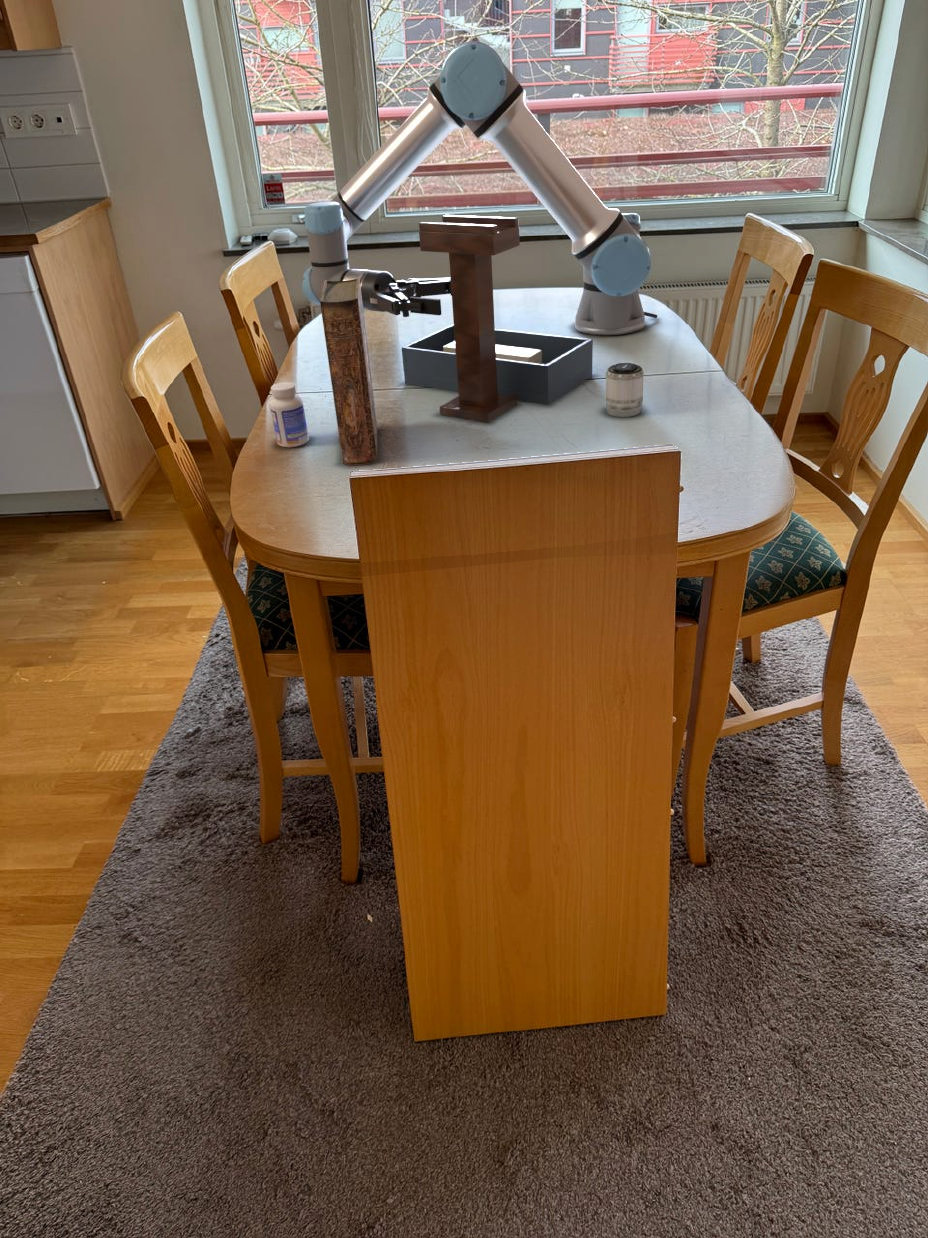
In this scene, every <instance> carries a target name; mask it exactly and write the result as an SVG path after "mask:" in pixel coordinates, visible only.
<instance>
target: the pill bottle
mask: <svg viewBox="0 0 928 1238" xmlns="http://www.w3.org/2000/svg"><path fill="white" fill-rule="evenodd" d="M270 392H271V393H270V394H271V396H272V397H273V398H272V399H271V400H270V402H269V409H270V413H271V418H272V424H273V429H274V435H275V440H276V443H277V445H278V446H280V447H283V448H295V447H300V446H303V445H305V444H307V443H308V441H310V436H309V431H308V430H309V429H308V423H307V420H306V414H305V408H304V407H305V406H304V402H303V399H302V397H301V396H300V395H298V394H297V388H296V384H295V382H291V381H289V382H288V381H284V382H278V383H275V384H273V385H272V386H270Z"/></svg>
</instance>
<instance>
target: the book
mask: <svg viewBox="0 0 928 1238" xmlns="http://www.w3.org/2000/svg"><path fill="white" fill-rule="evenodd" d="M320 312H321V320H322V326H323V332H324V333H323V334H324V341H325V346H326V347H325V348H326V354H327V360H328V369H329V374H330V383H331V389H332V395H333V403H334V411H335V417H336V424H337V425H336V426H337V432H338V439H339V446H340V453H341V461H342V464H343V465H345V466H364V465H370V464H373V463H376V462H377V461H378V424H377V423H378V422H377V414H376V407H375V405H376V404H375V396H374V390H373V380H372V371H371V362H370V356H369V345H368V337H367V328H366V321H365V310H364V311H363V302H362V294H361V286H360V278H359V277H357V279H354V280H348V281H327V280H324V285H323V290H322V294H321V299H320Z"/></svg>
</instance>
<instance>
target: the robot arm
mask: <svg viewBox="0 0 928 1238" xmlns="http://www.w3.org/2000/svg"><path fill="white" fill-rule="evenodd" d="M426 96H427V97H425V99H424V100H423V101H422V102H421V103H420V104H419V105H418V107H417V108H415V109H414V110H413V112H412V113H411V114H410V115H409V116H408V117H407V118H406V119H405V120H404V122H403V123H401V125H400V126H399V127H398V128H397V129H396V130H395V131H394V132H393V133H392V134H391V136H390V137H388V139H387V140H386V141H385V142H384V143H383V144H382V145H381V146H380V147H379V149H378V150H377V151H376V152H375V153H374V154H373V155H372V156H371V157H370V158H369V159H368V160H367V162H365V164H364V165H363V166H362V167H360V168H359V170H358V171H357V172H356V173H355V174H354V175H353V176H352V177H351V178H350V180H349V181H348V182H347V183H346V184H344V186H343V187H342V188H340V189H341V190H339V192H338V193H336V194H335V196H334V197H333V198H332V199H331V200H329V201H318V202H313V203H309V204H307V205H306V206H305V207H304V211H303V212H304V227H305V230H306V236H307V243H308V244H307V245H308V250H309V256H310V264H311V265H310V267H308V268H307V269H306V270H305V271H304V273H303V276H302V279H303V281H302V283H301V287H302V292H303V295H304V296H305V298H306V300H308V301H309V302H310V303H311V304H314V305H318V306H319V305H320V299H321V294H322V290H323V285H324V280H327V281H348V280H354V279H357V277H359V278H360V286H361V294H362V302H363V311H364V312H365V311H371V312H372V311H374V312H380V313H381V312H382V313H386V312H387V313H389V314H392V315H393V316H399V315H401V313H402V317H403V318H408V317H410V313H413V314H419V315H420V314H421V315H429V316H442V302H441V301H442V300H441V299H440V298H433V297H432V298H430V297H431V296H442V295H450V296H451V297H452V291H451V277H450V276H449V277H434V278H431V277H430V278H412V277H410V278H407V280H404V279H401V280H396V279H395V278H394V276H393V275H392V274H391V273H390V272H388V271H386V270H371V269H359V268H350V264H349V263H350V262H349V261H350V260H349V254H348V253H349V252H348V244H347V242H348V240H349V239H350V238H351V237H352V236H353V235H354V233H355V232H356V231H357V230H358V229H360V227H361V226H362V225H363V224H364V223H365V222H366V220H368V219H369V217H370V216H372V215H373V213H374V212H375V211H377V209H378V208H379V207H380V206H381V205H382V204H384V202H385V201H386V200H387V199H388V198H389V197H390V196H391V195H392V194H393V193H394V192H395V191H396V190H397V189H398V188H399V186H400V185H402V184H403V183H404V181H405V180H406V179H407V178H408V177H409V176H410V175H411V174H412V173H413V172H414V171H415V170H416V169H417V168H418V167H419V166H420V165H421V164H422V163H423V162H424V161H425V160H426V158H428V156H430V154H432V152H434V150H435V149H436V148H437V147H439V145H440V144H441V143H442V142H443V141H444V140H445V139H446V138H447V137H448V136H449V135H450V134H451V133H452V132H453V131H454V130H459V131H460V130H462V129H463V128H464V127H465V126H467V128H469V130H470V132H472V134H473V135H474V136H475V138H477V140H479V141H488V142H491V144H492V145H493V146H494V147H495V149H497V151H498V152H499V153H500V154H501V156H502V157H503V158H504V159H505V161H506V162H507V163H508V164H509V166H510V167H511V168H512V169H513V170H514V172H515V173H516V174H517V175H518V177H519V178H520V179H521V180H522V181H523V183H524V184H525V185H526V186H527V187H528V188H529V190H530V191H531V192H532V193H533V194H534V196H535V197H536V199H538V201H539V202H540V203H541V204H542V206H543V207H544V208H545V209H546V211H548V213H549V214H550V216H552V218H553V219H554V221H556V223H557V225H559V226H560V228H561V229H562V230H563V231H564V232H565V234H566V235H567V236H568V237H569V238H570V240H571V254H572V255H573V256H574V258H576V260H577V261H578V262H579V264H580V265H581V266H582V267H583V269H582V271H583V275H582V279H583V280H582V281H583V283H582V286H583V288H582V290H583V291H582V294H581V298H580V301H579V303H578V307H577V311H576V314H575V317H574V329H576V331H578V332H580V333H582V334H587V335H594V336H617V335H625V334H633V333H635V332H638V331H640V330H642V329H644V327H645V326H646V317H649V318H653V319H657V318H658V314H655V313H651V312H648V311H644V307H643V305H642V301H641V297H640V293H639V289H640V288H641V287H642V286H643V285H644V284H645V282H646V281H647V279H648V277H649V275H650V272H651V267H652V257H651V256H652V255H651V249H650V248H649V245H648V243H646V241H645V240H644V239H642V238H641V236H640V235H641V234H640V233H641V232H640V231H641V229H642V224H641V217H640V215H639V214H638V213H633V212H631V213H629V212H628V213H622V212H621V211H620V210H619V209H618V208H610V207H609V208H608V207H606V206H605V204H604V203H603V202H602V200H600V198H599V196H597V194H596V193H595V192H594V190H593V189H592V187H590V185H589V184H588V182H586V180H585V179H584V178H583V177H582V175H581V174H580V173H579V172H578V170H577V169H576V168H575V166H574V165H573V164H572V162H571V161H570V160H569V158H567V156H566V155H565V153H564V152H563V151H562V150H561V149H560V147H559V146H558V145H557V144H556V142H555V140H553V138H552V137H551V136H550V135H549V133H548V132H547V131H546V129H545V127H543V126H542V125H541V123H540V122H539V120H538V119H537V118H536V117H535V115H533V113H532V112H531V110H530V109H529V108H528V107H527V105H526V102H525V101H526V90H525V88H524V87H523V86H522V84H521V83H520V82H519V81H518V79H517V78H516V77H515V75H513V72H511V71H510V69H509V68H508V67H507V65H506V64H505V63H504V62H503V59H502V57H501V56H500V54H499V53H498V52H497V51H496V50H495V49H494V48H493V47H491V45H488V44H486V43H484V42H482V41H477V40H476V41H475V40H471V41H466V42H461V44H459V45H456V46H455V47H454V48H453V49H452V50H451V51H450V52H449V53H448V55H447V56H446V57H445V59H444V61H443V63H442V65H441V68H440V73H439V75H438V76H437V78H436V79H435V80H434V81H433V82H432V83H431V84H430V85H429V87H427V95H426ZM320 306H321V305H320Z"/></svg>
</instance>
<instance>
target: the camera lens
mask: <svg viewBox="0 0 928 1238" xmlns="http://www.w3.org/2000/svg"><path fill="white" fill-rule="evenodd" d="M644 377H645V370H644V369H643V367H642V366H641V365H639V364H636V363H633V362H618V363H615V364H613V365H610V366H609V367H608V368H607V370H606V371H605V407H606V412H607V413H608V415H610V416H613V417H618V418H628V417H634V416H637V415H639V414H640V413H641V412H642V409H643V402H644V379H645V378H644Z"/></svg>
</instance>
